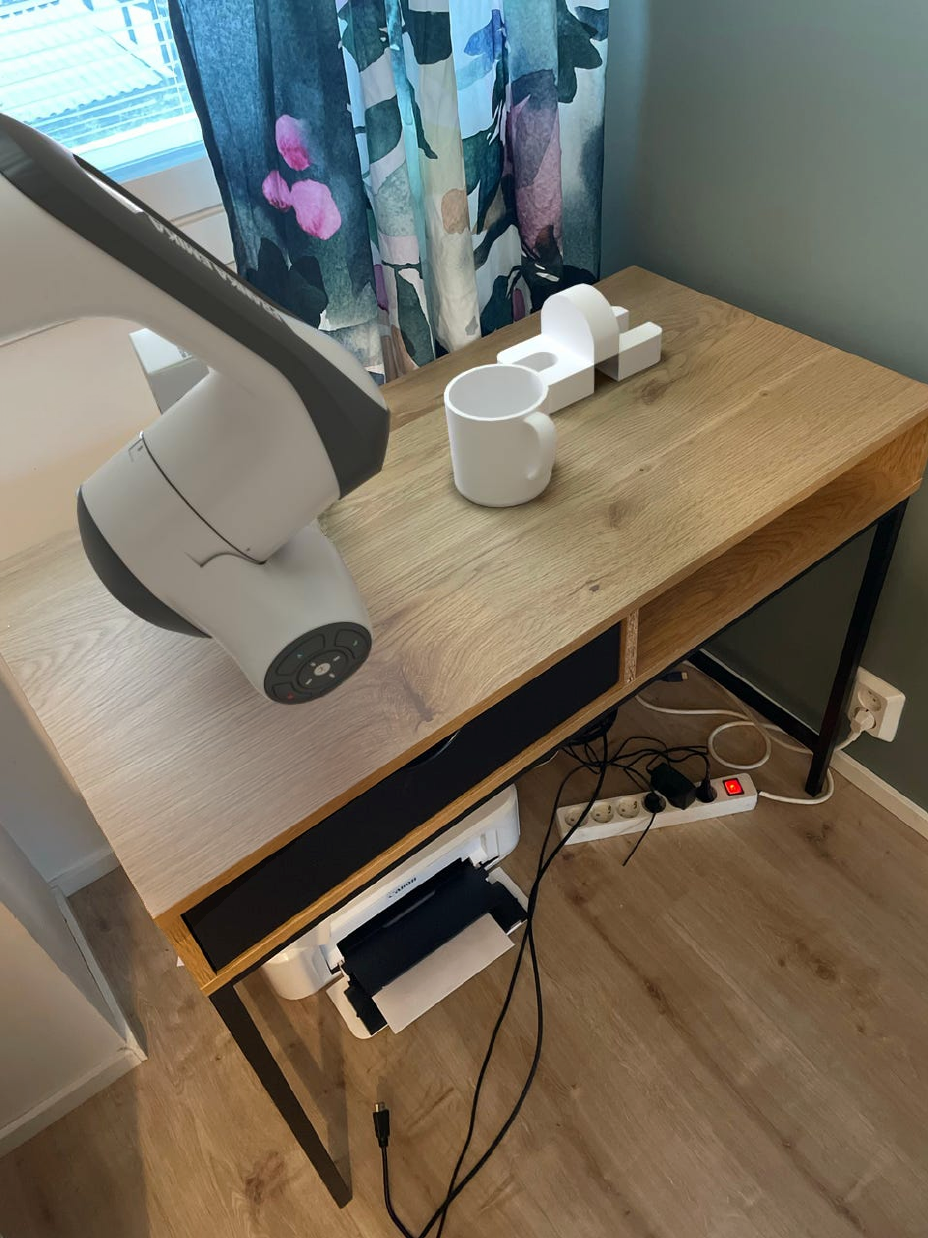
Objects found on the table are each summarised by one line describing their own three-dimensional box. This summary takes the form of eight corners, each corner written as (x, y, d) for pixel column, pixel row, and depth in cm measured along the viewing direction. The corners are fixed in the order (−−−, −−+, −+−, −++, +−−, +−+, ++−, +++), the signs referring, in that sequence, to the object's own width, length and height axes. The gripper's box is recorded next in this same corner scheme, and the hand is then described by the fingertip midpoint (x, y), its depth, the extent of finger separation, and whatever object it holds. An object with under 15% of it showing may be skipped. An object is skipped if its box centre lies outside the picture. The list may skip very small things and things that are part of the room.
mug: (435, 479, 94) (422, 393, 86) (506, 438, 98) (500, 352, 90) (516, 533, 86) (509, 444, 79) (589, 486, 90) (589, 397, 83)
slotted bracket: (611, 329, 112) (613, 251, 105) (665, 358, 106) (670, 278, 99) (494, 383, 106) (487, 304, 99) (543, 417, 100) (540, 335, 93)
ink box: (171, 443, 86) (125, 329, 78) (220, 427, 87) (181, 312, 79) (192, 489, 80) (146, 372, 72) (245, 471, 82) (205, 353, 73)
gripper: (374, 435, 63) (310, 352, 72) (83, 539, 58) (53, 436, 67) (388, 505, 67) (326, 419, 76) (120, 607, 62) (87, 502, 71)
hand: (197, 427), depth 72 cm, fingers open, 8 cm apart
